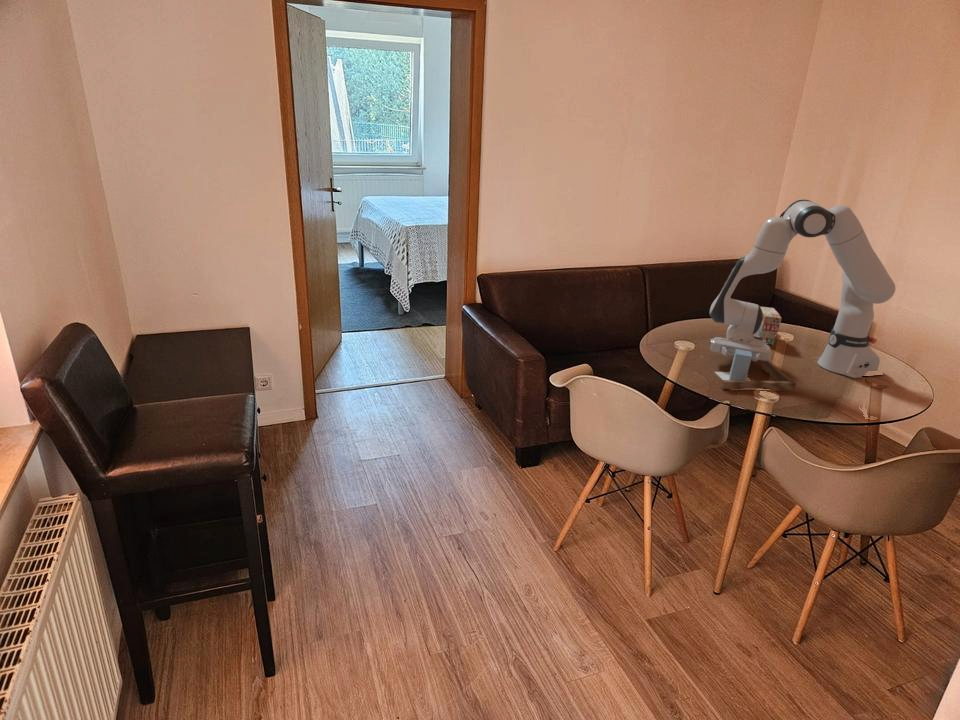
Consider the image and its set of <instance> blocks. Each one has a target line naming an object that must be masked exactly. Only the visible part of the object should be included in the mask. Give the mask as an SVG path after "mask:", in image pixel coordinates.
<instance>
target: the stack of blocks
mask: <svg viewBox="0 0 960 720" xmlns="http://www.w3.org/2000/svg"><path fill="white" fill-rule="evenodd" d="M760 307H761V309H762V312H763V318H762V323H761V326H760V328H759V330H758V331H757V332H756V333H755V334H753V335H754V336H755V337H758V338H762V339H765V340H766V343H768V344H775V341H776V338H775V335H776V336H777V334H778V332H779V329H780V325H781V322H782V317H781V315H780V313H779V312H778V311H777V310H776V309H775V308H774V307H767V306H760Z"/></svg>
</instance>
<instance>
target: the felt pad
mask: <svg viewBox="0 0 960 720" xmlns="http://www.w3.org/2000/svg"><path fill="white" fill-rule="evenodd" d="M714 374H716V376H717V377H718V378H720V379H721V380H722V381H723V380H729V374H730V371H714Z"/></svg>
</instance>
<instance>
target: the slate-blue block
mask: <svg viewBox="0 0 960 720" xmlns="http://www.w3.org/2000/svg"><path fill="white" fill-rule="evenodd" d="M751 361H752V353H751V352H750V351H745V350H739V349H736V351H735V354H734V355H733V358H732V363H731V367H730V370H729V372H730V374H729V380H746V377H747V376H748V373H749V369H750V365H751V363H752V362H751Z"/></svg>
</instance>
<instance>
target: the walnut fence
mask: <svg viewBox="0 0 960 720" xmlns="http://www.w3.org/2000/svg"><path fill="white" fill-rule="evenodd" d="M761 367H762V368H763V369H764V370H763V371H764V372H766V371H767V372H768V373H769V374H771V375H772V376H773V377H775V379H776V380H775V379H774V380H753V381H750V380H722V383H721V387H720V389H721V390H723V389H741V388H742V389H743V388H763V389H770V390H775V391H774V392H794V391H795V389H796V385H797V383H796V381H794V380H793V379H791V378H790V377H789V376H787V375H786V374H785V373H783V372H782V371H781V370H780V369H779V368H778V367H776V366H775V365H773V363H771V362H770V360H769V361H763V360H762V365H761ZM762 368H761V369H762ZM767 372H766V373H767ZM768 373H767V374H768ZM769 374H768V375H769ZM771 375H770V376H771ZM772 376H771V377H772ZM773 377H772V378H773ZM777 380H778V381H777Z"/></svg>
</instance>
